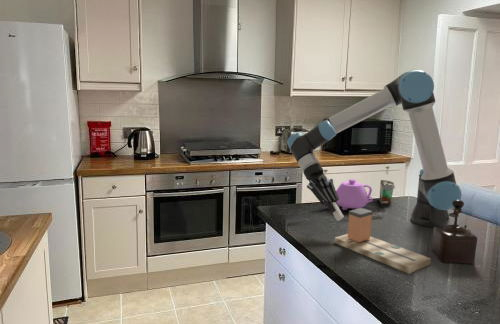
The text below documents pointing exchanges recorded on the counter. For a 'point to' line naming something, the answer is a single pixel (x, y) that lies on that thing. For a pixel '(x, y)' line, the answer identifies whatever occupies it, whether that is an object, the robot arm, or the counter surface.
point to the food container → (386, 191)
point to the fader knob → (359, 224)
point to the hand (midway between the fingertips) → (340, 218)
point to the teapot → (353, 195)
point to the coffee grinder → (454, 241)
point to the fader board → (386, 253)
